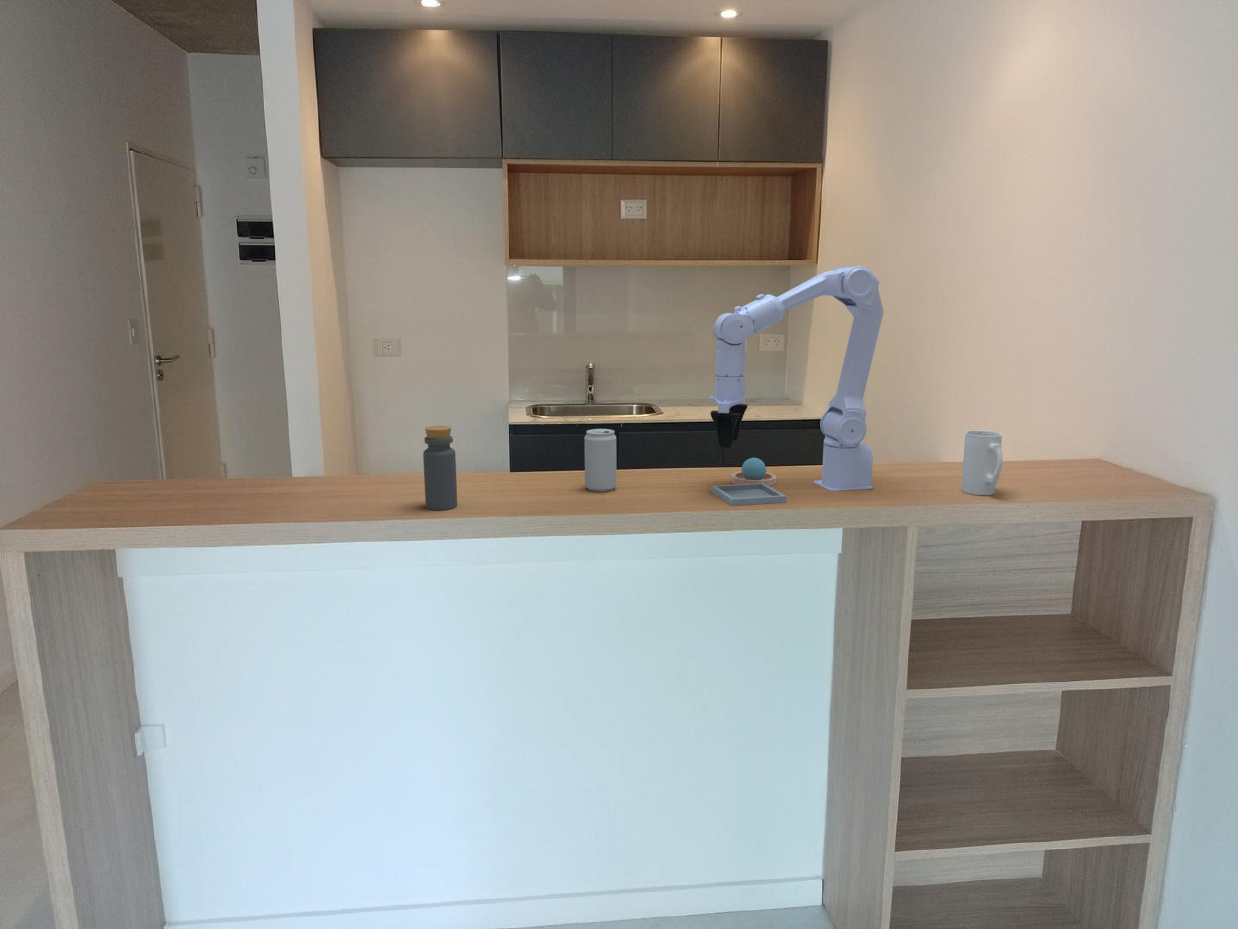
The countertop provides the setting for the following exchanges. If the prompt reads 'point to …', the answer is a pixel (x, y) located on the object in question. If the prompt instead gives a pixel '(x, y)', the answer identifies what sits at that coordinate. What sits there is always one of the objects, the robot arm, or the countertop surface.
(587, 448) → the beverage can
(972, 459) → the mug
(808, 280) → the robot arm
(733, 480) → the dish
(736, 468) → the countertop surface
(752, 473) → the ball
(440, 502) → the bottle
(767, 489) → the tray
